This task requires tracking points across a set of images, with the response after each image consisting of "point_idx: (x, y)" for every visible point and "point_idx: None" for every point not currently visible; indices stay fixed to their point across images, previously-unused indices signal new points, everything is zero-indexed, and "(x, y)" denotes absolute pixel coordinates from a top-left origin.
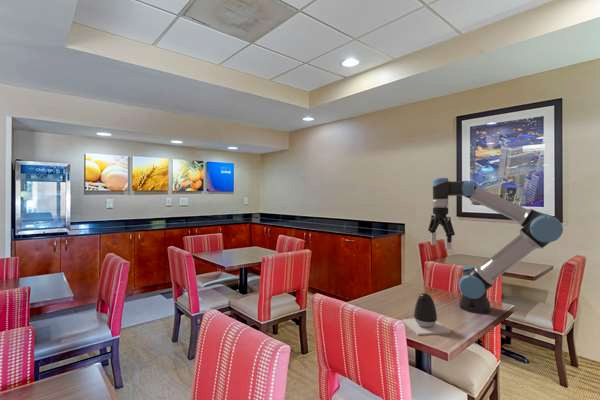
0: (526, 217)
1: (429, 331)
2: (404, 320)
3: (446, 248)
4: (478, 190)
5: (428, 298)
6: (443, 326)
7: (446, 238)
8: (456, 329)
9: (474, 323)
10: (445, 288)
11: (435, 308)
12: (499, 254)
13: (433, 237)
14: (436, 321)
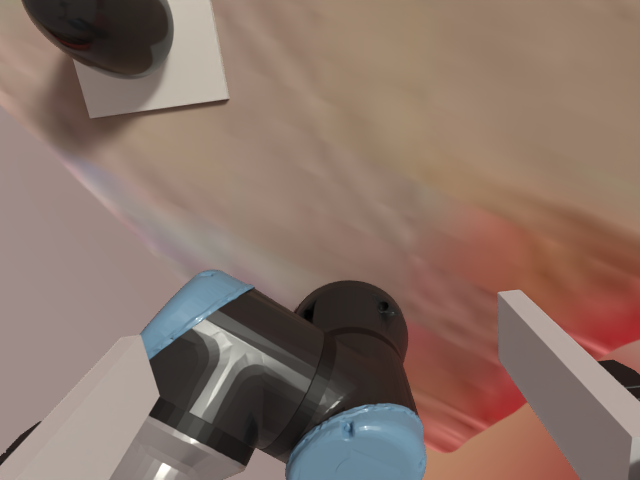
0: None
1: None
2: None
3: (119, 339)
4: None
5: (22, 2)
6: (132, 108)
7: (12, 454)
8: (130, 156)
9: (194, 252)
10: (622, 341)
11: (79, 62)
12: None
13: (558, 396)
14: (184, 101)
